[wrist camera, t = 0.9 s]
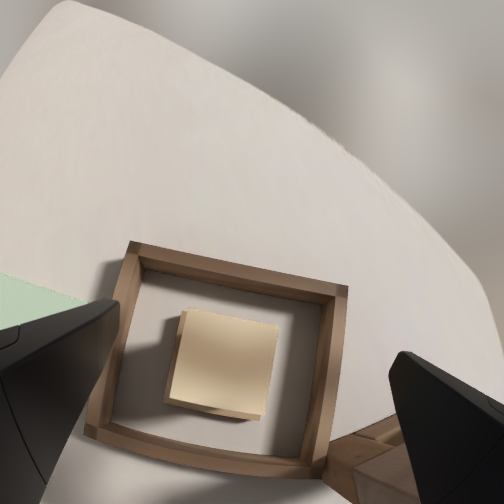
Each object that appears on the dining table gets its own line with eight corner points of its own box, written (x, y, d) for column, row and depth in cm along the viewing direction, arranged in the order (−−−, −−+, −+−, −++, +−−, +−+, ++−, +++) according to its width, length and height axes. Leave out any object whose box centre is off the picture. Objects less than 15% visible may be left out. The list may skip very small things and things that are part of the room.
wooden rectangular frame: (309, 469, 20) (321, 479, 18) (96, 429, 19) (83, 435, 17) (334, 296, 26) (348, 285, 24) (137, 255, 25) (130, 240, 23)
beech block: (245, 402, 21) (264, 415, 13) (182, 390, 20) (169, 397, 13) (255, 343, 23) (279, 325, 15) (194, 331, 22) (188, 307, 15)
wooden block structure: (312, 446, 21) (478, 521, 5) (417, 400, 24) (591, 382, 7) (322, 483, 20) (473, 578, 3) (424, 434, 22) (590, 438, 6)
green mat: (63, 427, 19) (61, 428, 18) (-27, 379, 18) (-29, 378, 18) (89, 302, 23) (87, 301, 23) (-1, 272, 23) (-4, 270, 22)
